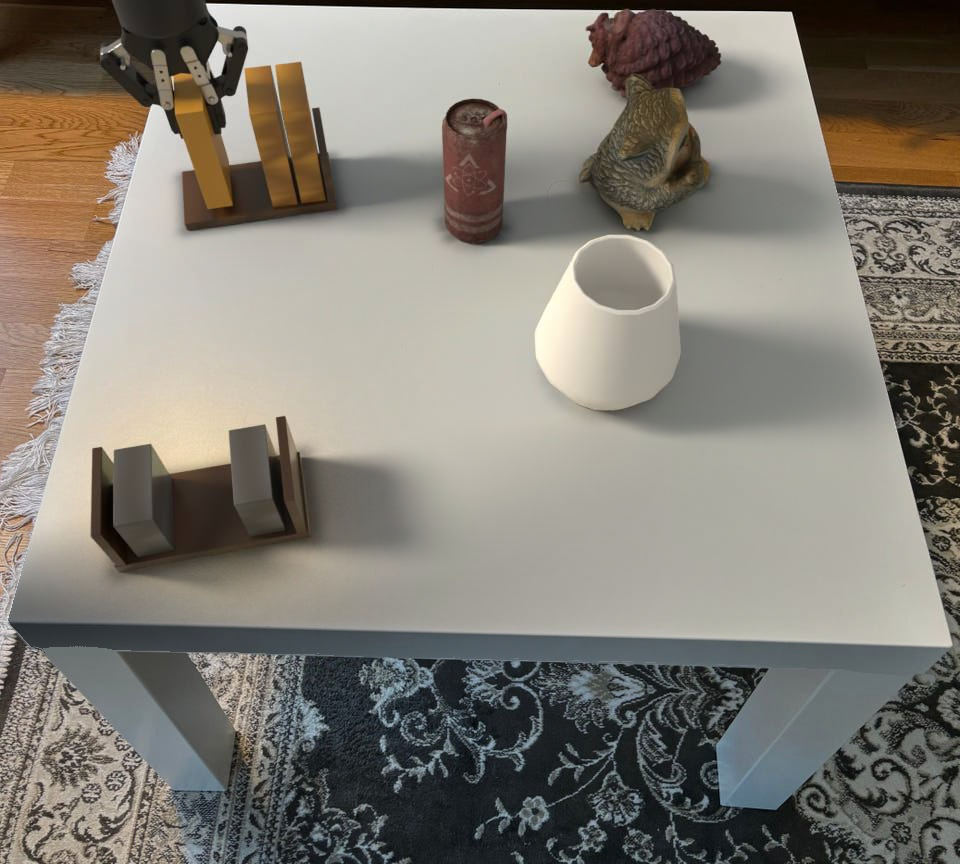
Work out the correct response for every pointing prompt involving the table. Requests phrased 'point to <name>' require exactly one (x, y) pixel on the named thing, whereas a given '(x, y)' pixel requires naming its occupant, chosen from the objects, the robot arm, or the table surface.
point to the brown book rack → (198, 501)
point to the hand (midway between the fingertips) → (200, 130)
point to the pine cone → (651, 49)
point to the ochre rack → (272, 157)
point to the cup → (612, 325)
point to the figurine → (647, 155)
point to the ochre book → (202, 143)
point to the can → (474, 169)
